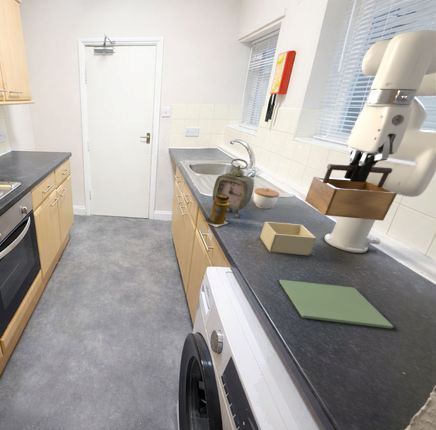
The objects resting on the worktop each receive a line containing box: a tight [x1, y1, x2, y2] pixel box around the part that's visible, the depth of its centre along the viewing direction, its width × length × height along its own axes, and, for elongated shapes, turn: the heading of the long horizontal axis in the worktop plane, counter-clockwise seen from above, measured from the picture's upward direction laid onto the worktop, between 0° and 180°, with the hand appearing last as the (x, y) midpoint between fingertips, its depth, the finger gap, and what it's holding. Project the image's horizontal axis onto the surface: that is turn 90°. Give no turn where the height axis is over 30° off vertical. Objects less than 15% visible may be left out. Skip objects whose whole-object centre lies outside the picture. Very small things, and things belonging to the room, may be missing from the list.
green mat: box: [278, 279, 394, 329], centre depth 70 cm, size 20×14×1 cm
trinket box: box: [252, 187, 280, 210], centre depth 129 cm, size 11×11×9 cm
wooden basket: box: [304, 163, 398, 222], centre depth 67 cm, size 13×10×12 cm
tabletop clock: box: [212, 158, 255, 218], centre depth 118 cm, size 14×9×25 cm, turn 44°
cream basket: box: [259, 221, 317, 256], centre depth 95 cm, size 13×10×7 cm
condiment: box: [202, 194, 229, 228], centre depth 111 cm, size 7×8×12 cm
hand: (354, 179), depth 66 cm, fingers closed on wooden basket, 1 cm apart
